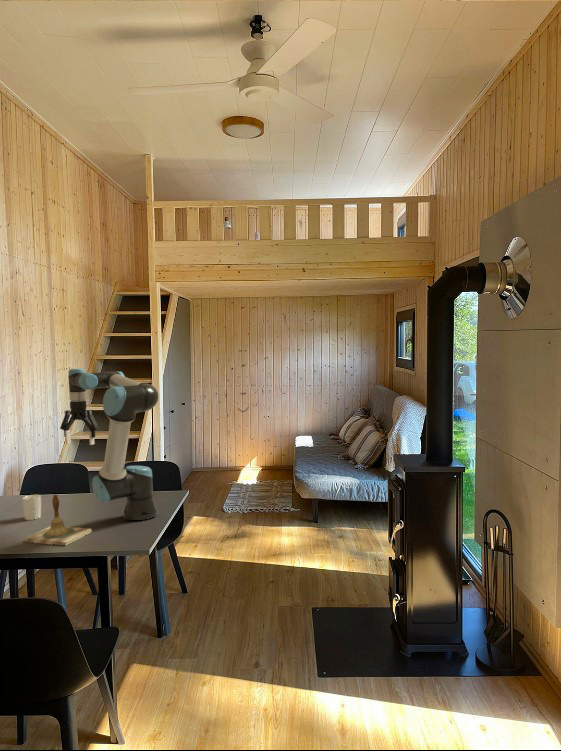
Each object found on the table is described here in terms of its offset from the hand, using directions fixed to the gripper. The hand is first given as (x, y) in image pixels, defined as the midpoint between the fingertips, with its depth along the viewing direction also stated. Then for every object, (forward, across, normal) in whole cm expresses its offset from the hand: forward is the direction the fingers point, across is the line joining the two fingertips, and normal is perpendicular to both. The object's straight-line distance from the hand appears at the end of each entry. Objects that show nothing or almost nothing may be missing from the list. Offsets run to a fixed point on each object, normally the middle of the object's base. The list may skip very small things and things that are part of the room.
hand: (80, 444), depth 263 cm
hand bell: (+30, -16, +37) cm, 50 cm away
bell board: (+32, -16, +37) cm, 51 cm away
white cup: (+32, +14, +18) cm, 39 cm away
